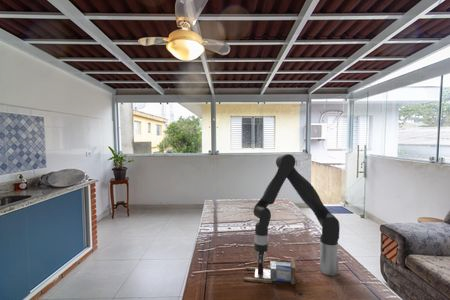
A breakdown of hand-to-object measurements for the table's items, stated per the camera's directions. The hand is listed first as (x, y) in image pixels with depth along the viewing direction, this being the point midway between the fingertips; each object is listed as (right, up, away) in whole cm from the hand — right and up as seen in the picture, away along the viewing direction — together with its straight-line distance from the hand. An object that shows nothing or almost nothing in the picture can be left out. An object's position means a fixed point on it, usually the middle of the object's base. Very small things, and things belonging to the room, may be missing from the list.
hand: (260, 271), depth 135 cm
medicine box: (+12, -3, -3) cm, 13 cm away
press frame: (+5, -2, -1) cm, 6 cm away
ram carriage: (+3, -2, 0) cm, 4 cm away
